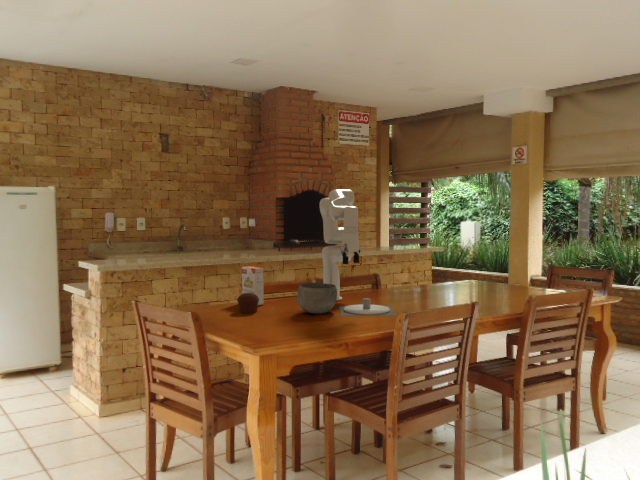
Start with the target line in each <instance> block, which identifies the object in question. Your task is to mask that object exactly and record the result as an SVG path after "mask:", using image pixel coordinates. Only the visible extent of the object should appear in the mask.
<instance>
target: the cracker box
mask: <svg viewBox="0 0 640 480" xmlns="http://www.w3.org/2000/svg"><path fill="white" fill-rule="evenodd" d="M264 281H265V279H264V268H263V267H257V266H253V265H252V266H250V265H249V266H247V265H245V266H242V267H241V289H242V290H241V294H243V293H254V294H255V295H257V296H258V298H259V301H258V307H259V306H264V305H265V293H264V290H265V284H264Z"/></svg>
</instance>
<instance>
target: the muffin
mask: <svg viewBox="0 0 640 480" xmlns="http://www.w3.org/2000/svg"><path fill="white" fill-rule="evenodd" d="M258 301H259V298H258V296H257V295H255V294H254V293H243V294H242V293H241V294H239V296H238V297H237V299H236V302H237V305H238V310H239V313H241V314H246V315H247V314H249V315H250V314H256V313H257V312H258V307H259V306H258Z"/></svg>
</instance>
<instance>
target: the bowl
mask: <svg viewBox="0 0 640 480" xmlns="http://www.w3.org/2000/svg"><path fill="white" fill-rule="evenodd" d="M297 289H298V290H297V297H296V299H297V303H298V306H300V308H301V309H302V310H303V311H305V312H307V313H309V314H316V315H322V314H326V313H328V312H330V311H331V310H332V309H333V308H334V307H335V304H336V302H337V301H336V299H337V288H336V286H335V285H334V284H325V283H323V282H304V283H300V285H299V286H298V288H297Z"/></svg>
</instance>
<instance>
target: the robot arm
mask: <svg viewBox="0 0 640 480" xmlns="http://www.w3.org/2000/svg"><path fill="white" fill-rule="evenodd" d="M354 203H355V193H354V191H353V190H351V189H333V190H331V191H330V192H329V193H328V197H323V198H321V199H320V201H319V212H320V214H321V218H322V223H323V224H322V225H323V226H322V227H323V240H324V242H325V243H326V244H332V245H328V246H325V247H323V248H322V250H321V256H322V267H323V269H322V270H323V271H322V272H323V274H322V275H323V276H322V277H323V280H322V281H323V282H322V283H325V284H334V285H335V286H336V288H337V299H336V302H337V301H342V300H343V297H342V296H340V293H341V292H340V289H341V288H340V286H341V285H340V283H341V282H340V279H341V278H340V276H341V275H340V268H339V266H338V265H337V264H336V263H342V264H343V265H349V262H350V261H351V260H352V254H353V263H354V264H355V263H356V264H359V263H360V255H361V250H362V246H361V245H360V238H359V207H357V206H355V205H353V204H354ZM339 221H343V227H339V226H338V225H339V223H338V222H339ZM333 244H337V245H333ZM338 244H340V245H338Z"/></svg>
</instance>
